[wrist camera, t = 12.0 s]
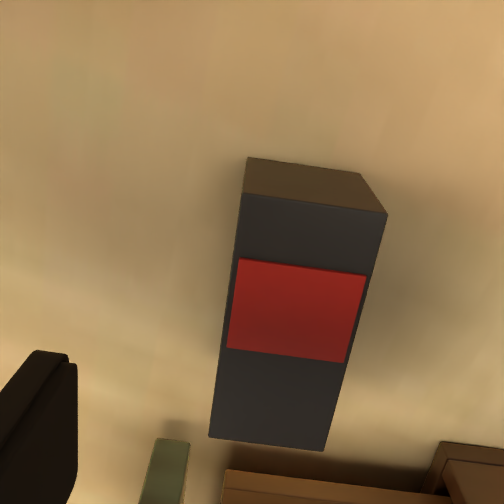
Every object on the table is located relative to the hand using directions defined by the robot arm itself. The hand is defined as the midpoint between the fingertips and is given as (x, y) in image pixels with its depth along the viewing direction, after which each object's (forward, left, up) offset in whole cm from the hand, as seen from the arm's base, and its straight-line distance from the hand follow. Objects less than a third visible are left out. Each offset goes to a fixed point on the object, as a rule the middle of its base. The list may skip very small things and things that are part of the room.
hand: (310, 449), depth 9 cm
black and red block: (-1, 0, -6) cm, 6 cm away
